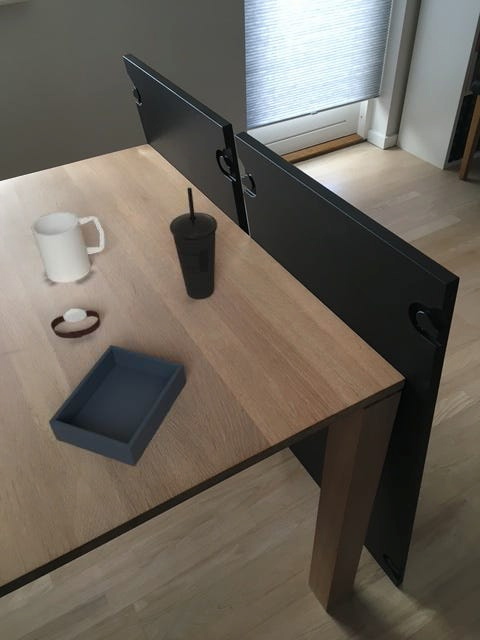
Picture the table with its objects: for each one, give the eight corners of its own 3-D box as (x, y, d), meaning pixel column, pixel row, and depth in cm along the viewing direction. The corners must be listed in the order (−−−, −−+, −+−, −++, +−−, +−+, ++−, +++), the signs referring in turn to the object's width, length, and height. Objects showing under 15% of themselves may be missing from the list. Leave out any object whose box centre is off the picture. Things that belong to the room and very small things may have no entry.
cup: (113, 272, 101) (102, 226, 94) (48, 286, 98) (32, 240, 91) (107, 249, 106) (96, 204, 100) (45, 262, 104) (30, 216, 97)
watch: (100, 316, 91) (95, 299, 89) (103, 334, 88) (98, 317, 86) (54, 325, 90) (48, 309, 88) (55, 344, 87) (48, 328, 84)
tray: (134, 466, 69) (129, 449, 66) (56, 439, 73) (48, 421, 70) (186, 382, 79) (183, 364, 77) (115, 362, 83) (110, 344, 80)
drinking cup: (228, 281, 97) (221, 180, 84) (212, 308, 92) (203, 204, 78) (189, 274, 99) (176, 174, 86) (172, 300, 94) (155, 197, 80)
